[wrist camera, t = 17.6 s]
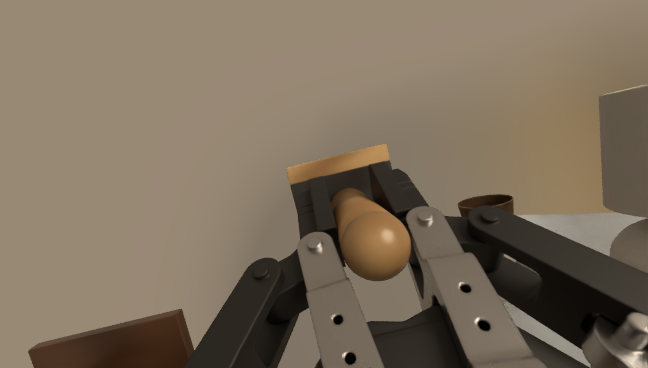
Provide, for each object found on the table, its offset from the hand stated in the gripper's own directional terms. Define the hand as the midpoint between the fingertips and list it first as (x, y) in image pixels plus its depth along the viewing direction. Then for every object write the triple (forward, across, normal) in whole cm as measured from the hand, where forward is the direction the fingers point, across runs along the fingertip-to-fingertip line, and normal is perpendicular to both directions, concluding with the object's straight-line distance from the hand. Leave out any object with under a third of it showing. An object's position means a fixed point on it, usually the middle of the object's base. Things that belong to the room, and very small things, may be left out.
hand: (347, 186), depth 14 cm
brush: (0, 0, +3) cm, 3 cm away
